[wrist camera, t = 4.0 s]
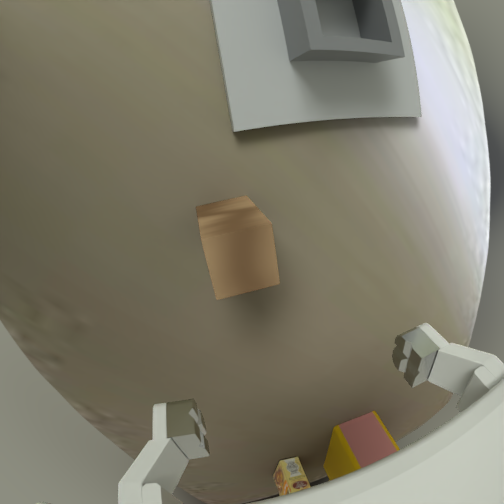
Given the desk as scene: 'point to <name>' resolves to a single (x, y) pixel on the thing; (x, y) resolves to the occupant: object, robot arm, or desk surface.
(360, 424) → the alarm clock
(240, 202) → the walnut block
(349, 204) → the desk surface
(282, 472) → the candy box
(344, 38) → the well
